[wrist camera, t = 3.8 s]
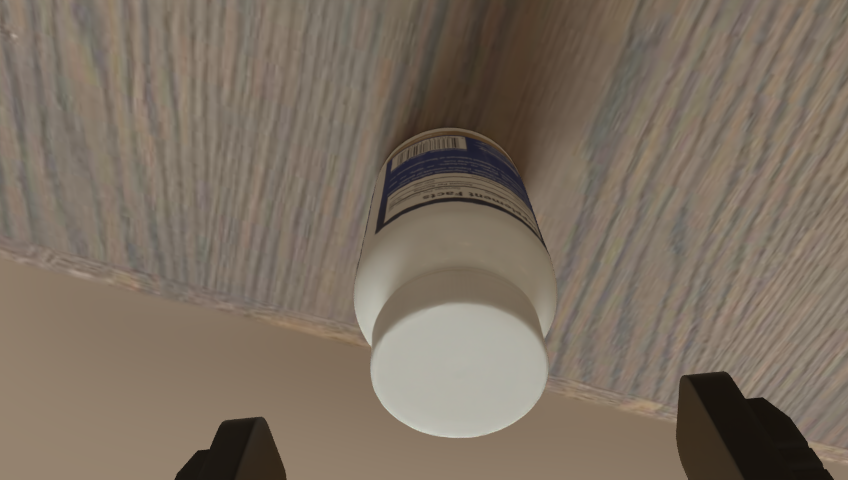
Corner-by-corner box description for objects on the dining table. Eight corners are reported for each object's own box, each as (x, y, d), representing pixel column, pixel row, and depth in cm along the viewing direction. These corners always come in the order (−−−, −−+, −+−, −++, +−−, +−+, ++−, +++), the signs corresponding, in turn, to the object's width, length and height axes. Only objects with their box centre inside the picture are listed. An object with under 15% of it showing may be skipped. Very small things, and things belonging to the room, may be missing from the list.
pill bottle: (478, 278, 23) (505, 487, 15) (352, 225, 22) (303, 416, 14) (551, 162, 21) (634, 331, 12) (413, 96, 20) (401, 230, 11)
